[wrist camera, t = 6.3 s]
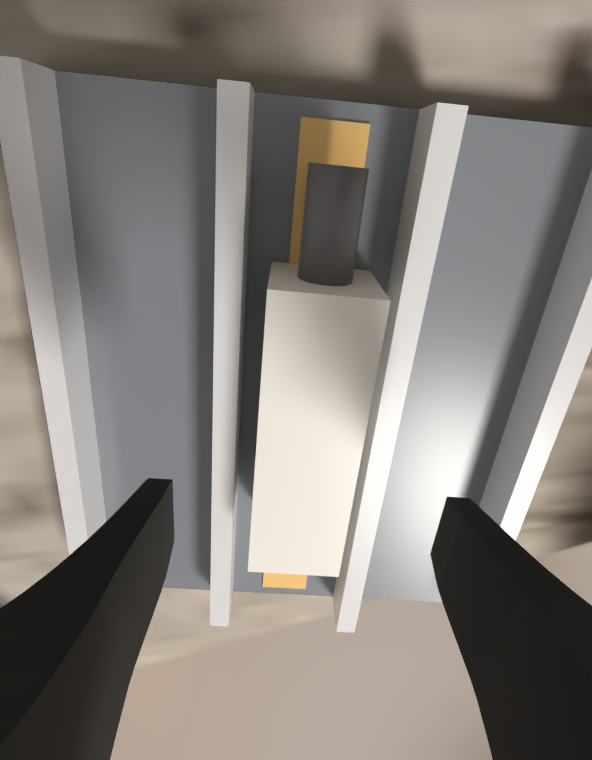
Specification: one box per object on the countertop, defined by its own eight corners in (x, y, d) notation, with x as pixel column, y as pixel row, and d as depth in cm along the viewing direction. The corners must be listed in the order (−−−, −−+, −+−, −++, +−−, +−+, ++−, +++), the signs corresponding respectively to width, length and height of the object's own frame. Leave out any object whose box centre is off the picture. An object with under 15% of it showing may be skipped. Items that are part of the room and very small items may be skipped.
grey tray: (459, 585, 23) (480, 638, 21) (100, 566, 22) (76, 618, 20) (614, 133, 14) (683, 128, 12) (37, 72, 14) (-21, 53, 11)
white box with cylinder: (330, 508, 19) (338, 576, 16) (254, 503, 19) (247, 571, 16) (386, 170, 14) (415, 174, 11) (279, 158, 14) (275, 159, 10)
